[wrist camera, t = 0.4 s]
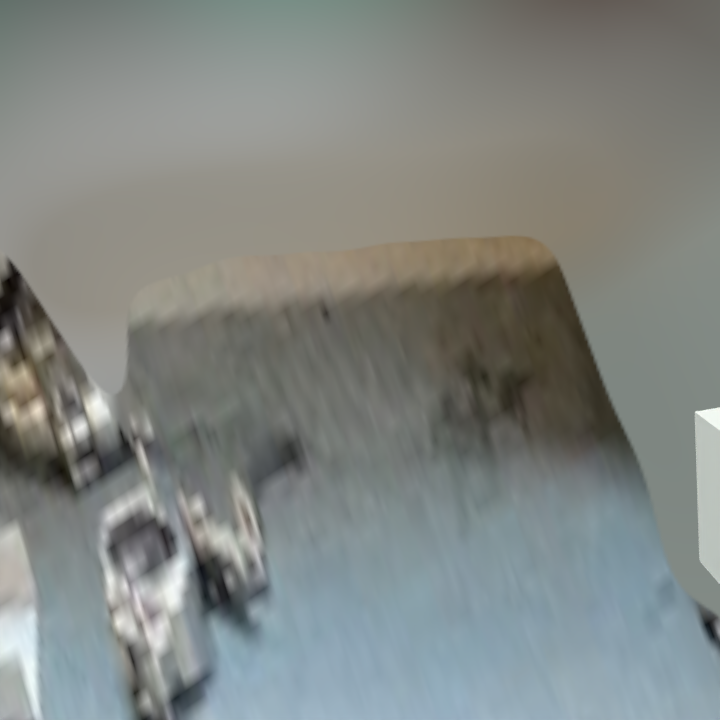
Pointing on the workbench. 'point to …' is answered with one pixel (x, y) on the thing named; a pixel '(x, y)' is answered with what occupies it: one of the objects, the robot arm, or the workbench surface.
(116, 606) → the workbench surface
